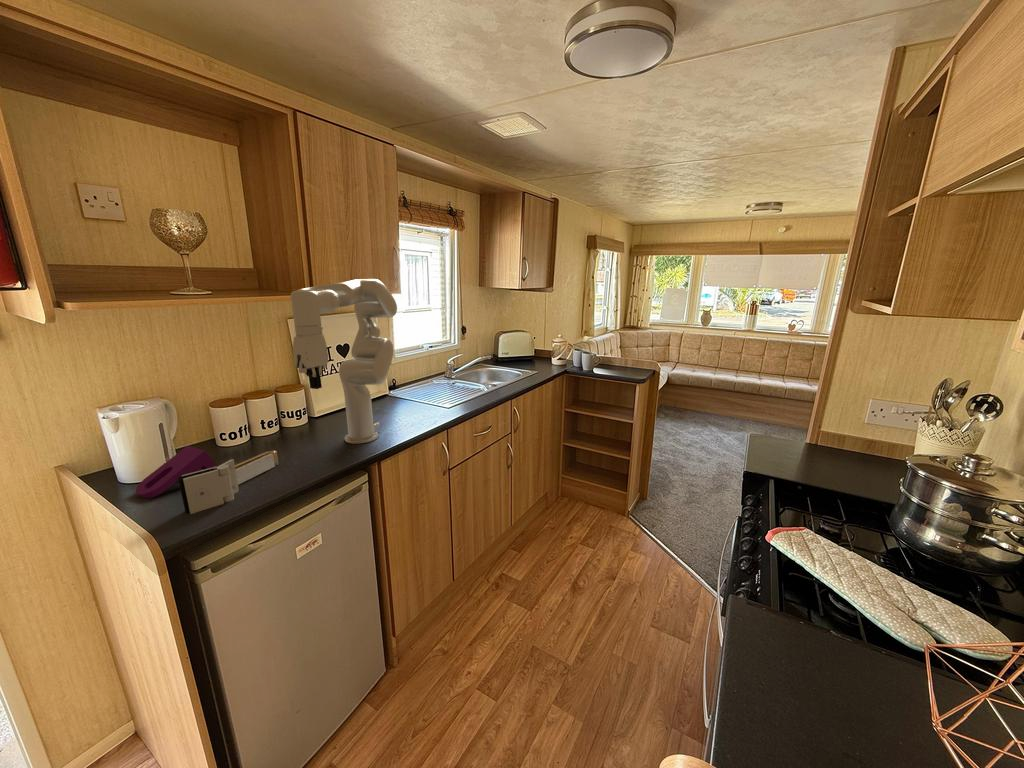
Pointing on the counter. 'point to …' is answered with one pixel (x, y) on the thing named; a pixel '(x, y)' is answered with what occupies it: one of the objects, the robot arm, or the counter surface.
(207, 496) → the hinge
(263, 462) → the open leaf
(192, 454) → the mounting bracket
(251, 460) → the fixed leaf
